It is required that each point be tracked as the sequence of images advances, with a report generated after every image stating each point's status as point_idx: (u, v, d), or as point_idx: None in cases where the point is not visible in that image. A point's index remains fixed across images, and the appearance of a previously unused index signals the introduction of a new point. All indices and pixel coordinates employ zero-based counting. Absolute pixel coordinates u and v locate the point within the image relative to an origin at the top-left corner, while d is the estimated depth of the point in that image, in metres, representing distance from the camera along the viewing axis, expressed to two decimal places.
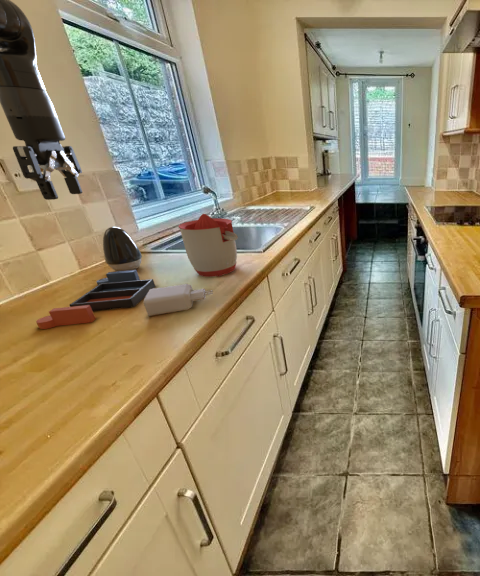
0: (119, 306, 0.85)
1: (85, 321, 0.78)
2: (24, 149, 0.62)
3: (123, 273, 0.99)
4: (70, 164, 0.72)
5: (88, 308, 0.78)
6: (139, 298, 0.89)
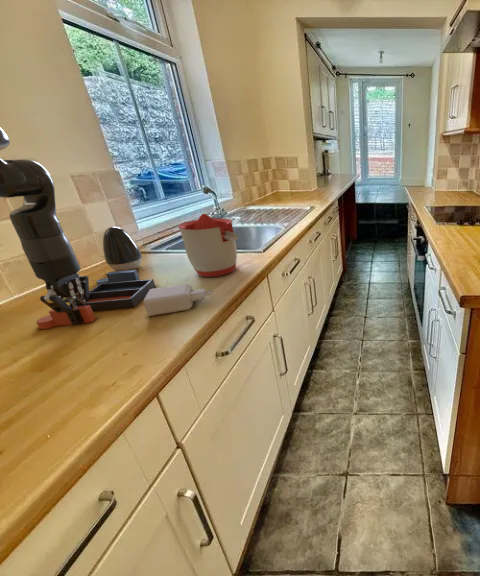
0: (119, 306, 0.85)
1: (85, 321, 0.78)
2: (51, 300, 0.70)
3: (123, 273, 0.99)
4: (81, 292, 0.78)
5: (88, 308, 0.78)
6: (139, 298, 0.89)
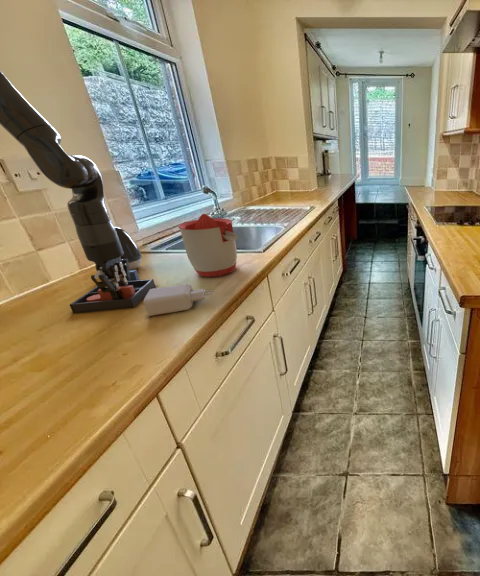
0: (119, 306, 0.85)
1: None
2: (100, 278, 0.79)
3: None
4: (124, 273, 0.87)
5: (131, 288, 0.87)
6: (139, 298, 0.89)
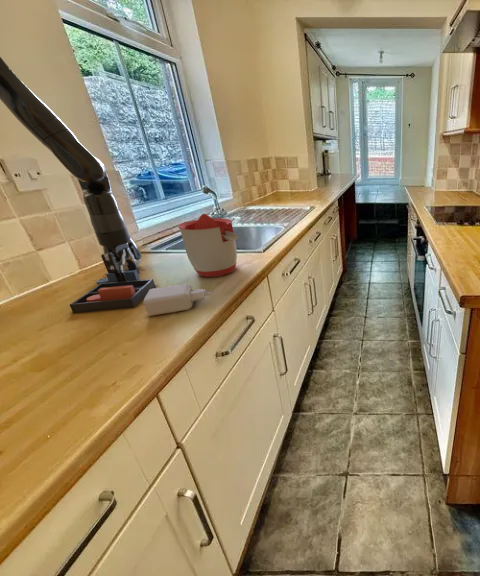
0: (119, 306, 0.85)
1: None
2: (108, 256, 0.91)
3: None
4: (132, 255, 1.01)
5: (131, 288, 0.87)
6: (139, 298, 0.89)
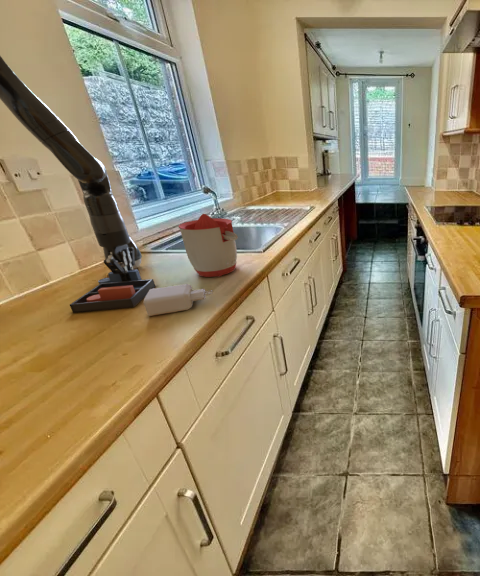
0: (119, 306, 0.85)
1: None
2: (111, 262, 0.92)
3: None
4: (130, 259, 1.00)
5: (131, 288, 0.87)
6: (139, 298, 0.89)
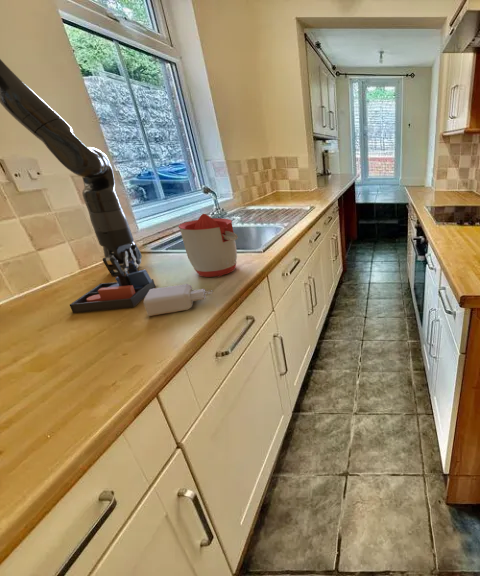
0: (119, 306, 0.85)
1: None
2: (111, 260, 0.84)
3: (132, 274, 0.92)
4: (134, 258, 0.93)
5: (131, 288, 0.87)
6: (139, 298, 0.89)
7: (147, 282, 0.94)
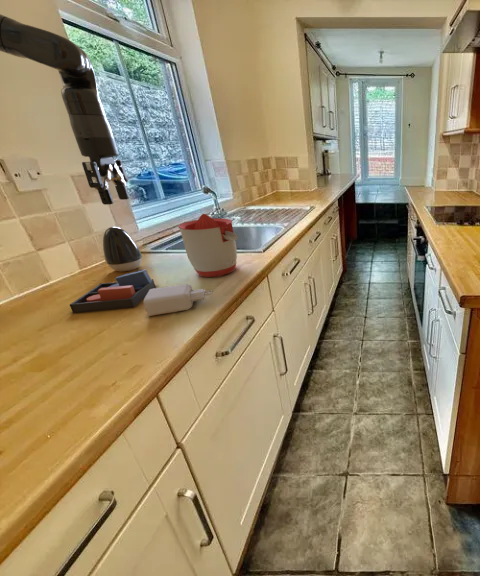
0: (119, 306, 0.85)
1: None
2: (91, 164, 0.77)
3: (132, 274, 0.92)
4: (121, 175, 0.87)
5: (131, 288, 0.87)
6: (139, 298, 0.89)
7: (147, 282, 0.94)
